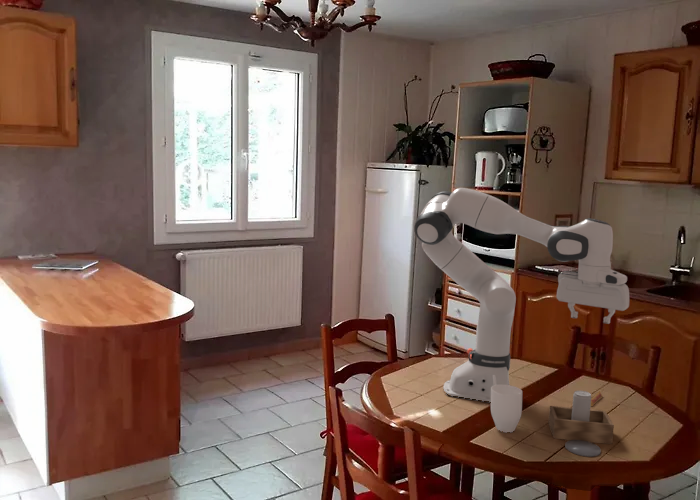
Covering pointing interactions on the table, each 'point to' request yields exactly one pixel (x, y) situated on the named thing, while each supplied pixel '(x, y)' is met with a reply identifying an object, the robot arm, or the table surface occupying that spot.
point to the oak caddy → (580, 426)
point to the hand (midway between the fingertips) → (590, 320)
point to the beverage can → (581, 406)
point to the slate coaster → (582, 448)
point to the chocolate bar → (596, 398)
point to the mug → (506, 406)
